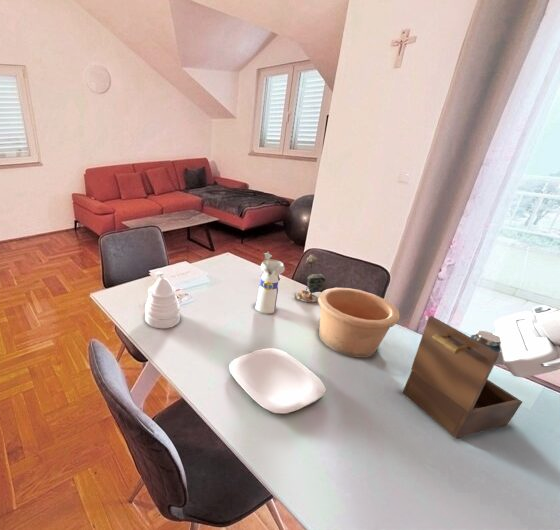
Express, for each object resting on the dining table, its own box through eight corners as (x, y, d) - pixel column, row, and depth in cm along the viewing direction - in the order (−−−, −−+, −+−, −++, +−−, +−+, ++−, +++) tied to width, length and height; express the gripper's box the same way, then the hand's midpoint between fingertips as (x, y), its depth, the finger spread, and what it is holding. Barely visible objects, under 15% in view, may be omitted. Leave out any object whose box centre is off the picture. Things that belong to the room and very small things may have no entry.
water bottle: (275, 316, 117) (287, 254, 107) (252, 311, 120) (261, 251, 110) (278, 305, 124) (289, 247, 114) (256, 301, 127) (264, 243, 117)
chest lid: (431, 315, 73) (415, 319, 73) (499, 353, 61) (481, 358, 61) (413, 368, 80) (398, 372, 80) (471, 411, 68) (455, 416, 68)
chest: (448, 383, 87) (459, 361, 84) (507, 425, 75) (522, 401, 71) (402, 392, 84) (411, 370, 81) (455, 438, 72) (469, 413, 68)
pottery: (311, 316, 117) (319, 282, 111) (380, 331, 109) (392, 295, 103) (309, 351, 99) (318, 312, 93) (391, 372, 91) (408, 331, 85)
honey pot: (138, 315, 118) (137, 272, 111) (167, 305, 124) (167, 264, 117) (157, 332, 108) (156, 286, 101) (186, 321, 114) (188, 277, 107)
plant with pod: (322, 307, 123) (333, 260, 115) (291, 299, 129) (300, 254, 120) (324, 298, 129) (335, 253, 121) (295, 291, 135) (304, 248, 127)
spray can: (466, 364, 77) (484, 327, 73) (490, 380, 73) (512, 341, 68) (449, 367, 76) (467, 330, 72) (473, 383, 72) (493, 344, 67)
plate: (272, 425, 75) (273, 420, 74) (219, 367, 92) (220, 363, 92) (335, 395, 83) (336, 390, 82) (275, 347, 101) (276, 342, 100)
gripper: (590, 377, 55) (490, 391, 65) (560, 325, 70) (481, 343, 79) (565, 346, 56) (469, 364, 66) (540, 301, 70) (465, 322, 80)
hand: (476, 352), depth 73 cm, fingers closed on spray can, 5 cm apart
